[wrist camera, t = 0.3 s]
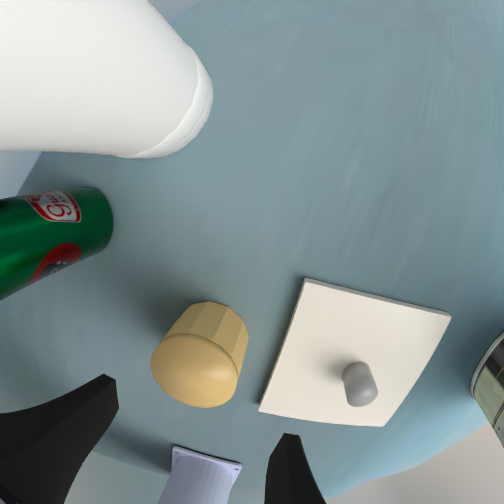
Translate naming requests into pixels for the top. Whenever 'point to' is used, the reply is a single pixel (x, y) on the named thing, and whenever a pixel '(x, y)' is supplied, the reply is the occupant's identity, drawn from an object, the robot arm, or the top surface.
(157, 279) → the top surface
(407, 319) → the base
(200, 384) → the cap
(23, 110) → the bottle
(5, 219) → the soda can
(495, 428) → the coffee can
